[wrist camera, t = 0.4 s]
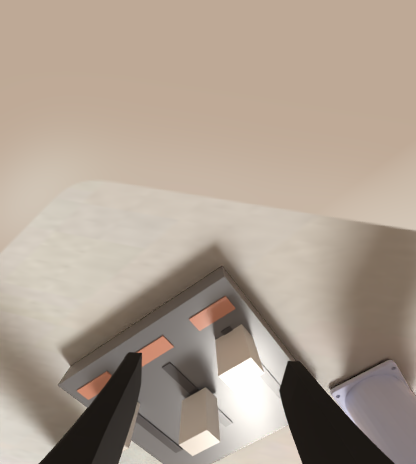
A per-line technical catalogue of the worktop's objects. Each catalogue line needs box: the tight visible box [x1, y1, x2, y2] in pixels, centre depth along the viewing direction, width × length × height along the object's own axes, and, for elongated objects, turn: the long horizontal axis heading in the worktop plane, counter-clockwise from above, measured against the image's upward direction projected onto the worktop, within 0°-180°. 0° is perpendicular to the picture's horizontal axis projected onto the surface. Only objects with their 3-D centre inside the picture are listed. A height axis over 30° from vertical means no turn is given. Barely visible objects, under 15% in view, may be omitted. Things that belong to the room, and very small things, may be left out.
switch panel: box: [58, 266, 296, 464], centre depth 20 cm, size 20×20×6 cm
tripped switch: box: [179, 387, 220, 456], centre depth 19 cm, size 2×3×4 cm, turn 125°
